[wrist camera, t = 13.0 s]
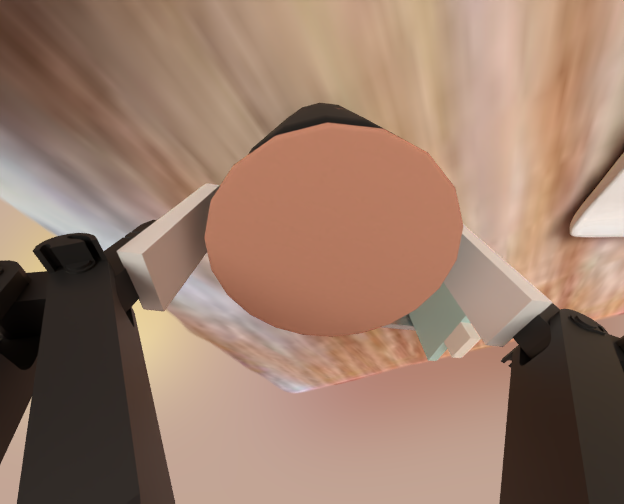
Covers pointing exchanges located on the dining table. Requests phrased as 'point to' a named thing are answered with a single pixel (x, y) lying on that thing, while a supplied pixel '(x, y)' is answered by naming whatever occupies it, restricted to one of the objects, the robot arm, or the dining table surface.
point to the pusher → (443, 326)
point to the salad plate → (603, 207)
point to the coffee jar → (333, 225)
